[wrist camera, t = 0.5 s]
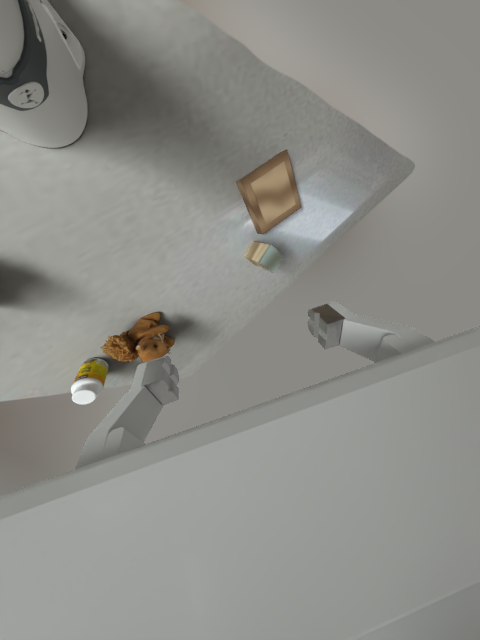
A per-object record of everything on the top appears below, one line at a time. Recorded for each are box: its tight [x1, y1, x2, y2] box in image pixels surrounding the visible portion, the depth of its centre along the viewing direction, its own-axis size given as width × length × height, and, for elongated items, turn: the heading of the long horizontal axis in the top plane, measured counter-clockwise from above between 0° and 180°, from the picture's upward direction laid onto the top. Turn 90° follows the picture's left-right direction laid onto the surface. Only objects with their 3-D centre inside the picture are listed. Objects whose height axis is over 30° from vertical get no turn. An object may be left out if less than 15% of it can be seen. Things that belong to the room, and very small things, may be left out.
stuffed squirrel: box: [101, 312, 175, 363], centre depth 43 cm, size 10×14×13 cm
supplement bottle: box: [71, 358, 109, 404], centre depth 43 cm, size 6×6×10 cm
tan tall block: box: [244, 241, 284, 273], centre depth 47 cm, size 5×5×9 cm
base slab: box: [236, 150, 301, 234], centre depth 44 cm, size 12×12×3 cm
